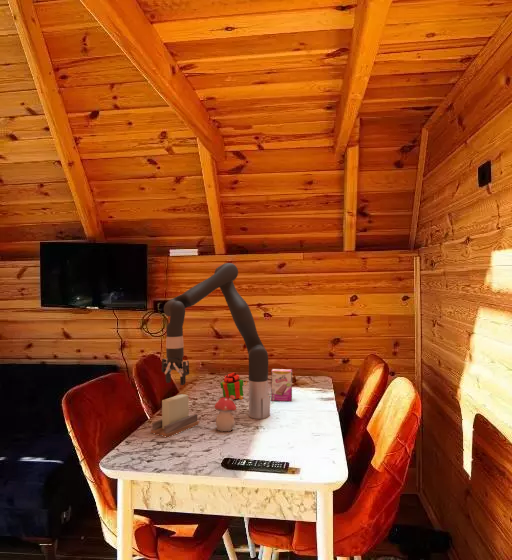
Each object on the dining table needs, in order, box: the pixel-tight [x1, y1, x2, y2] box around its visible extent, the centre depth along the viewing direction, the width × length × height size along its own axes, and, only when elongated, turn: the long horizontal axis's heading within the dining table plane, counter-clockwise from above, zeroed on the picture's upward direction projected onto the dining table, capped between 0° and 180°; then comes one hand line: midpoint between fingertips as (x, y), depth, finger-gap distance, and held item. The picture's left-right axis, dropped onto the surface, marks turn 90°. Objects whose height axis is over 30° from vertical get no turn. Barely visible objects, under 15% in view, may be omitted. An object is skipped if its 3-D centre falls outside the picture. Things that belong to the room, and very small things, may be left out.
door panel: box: [161, 393, 190, 429], centre depth 181 cm, size 4×12×12 cm, turn 146°
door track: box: [150, 413, 200, 438], centre depth 181 cm, size 10×19×4 cm, turn 146°
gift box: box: [219, 372, 249, 401], centre depth 227 cm, size 20×19×14 cm
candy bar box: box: [270, 368, 293, 402], centre depth 224 cm, size 11×5×16 cm, turn 84°
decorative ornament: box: [214, 395, 237, 432], centre depth 179 cm, size 9×7×15 cm
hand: (175, 383), depth 181 cm, fingers open, 8 cm apart
